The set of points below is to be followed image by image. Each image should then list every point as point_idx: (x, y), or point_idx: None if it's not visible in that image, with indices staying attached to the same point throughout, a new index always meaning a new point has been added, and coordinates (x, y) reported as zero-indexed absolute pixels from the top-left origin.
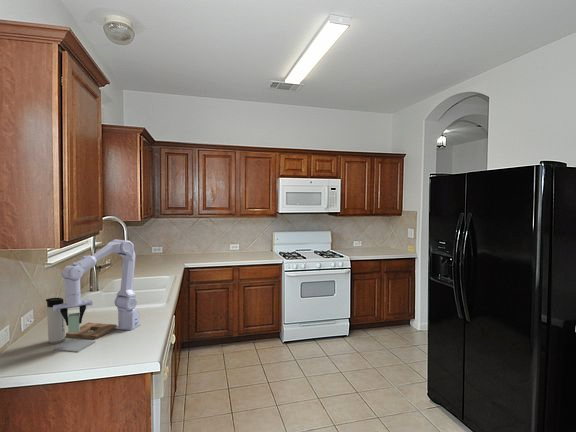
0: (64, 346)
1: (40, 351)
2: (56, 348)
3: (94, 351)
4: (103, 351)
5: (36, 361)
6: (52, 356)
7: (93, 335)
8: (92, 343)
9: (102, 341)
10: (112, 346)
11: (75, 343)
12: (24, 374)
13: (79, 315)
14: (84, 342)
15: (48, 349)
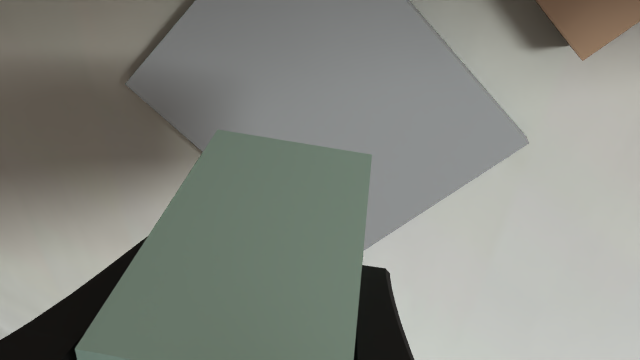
0: (223, 89)
1: (14, 34)
2: (152, 92)
3: (454, 318)
4: (511, 356)
5: (56, 230)
6: (151, 215)
7: (561, 17)
8: (487, 165)
9: (596, 158)
10: (612, 320)
11: (329, 74)
12: None
13: (351, 354)
14: (420, 105)
15: (78, 27)
